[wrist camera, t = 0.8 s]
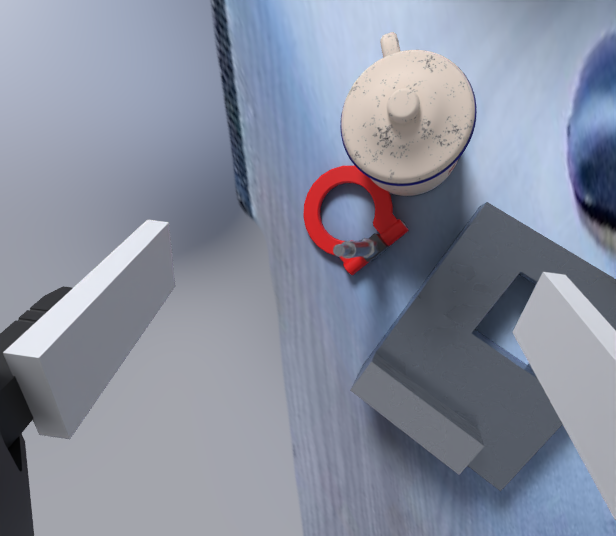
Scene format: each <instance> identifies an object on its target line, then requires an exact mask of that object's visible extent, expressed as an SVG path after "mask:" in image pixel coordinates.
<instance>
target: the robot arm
mask: <svg viewBox="0 0 616 536" xmlns="http://www.w3.org/2000/svg"><path fill="white" fill-rule="evenodd" d="M174 288H175V278H174V269H173V259H172V250H171V239H170V230H169V223H168V222H161V221H154V220H147V221H146V222H145V223H143V224H142V225H141V226H140V227H139V228H138V229H137V230H136V231H135V232H134V233H132V234H131V235H130V236H129V237H128V238H127V239H126V240H125V241H124V242H123V243H122V244H121V245H119V246H118V247H117V248H116V249H115V250H114V251H113V252H112V253H111V254H110V255H109V256H108V257H106V258H105V259H104V260H103V261H102V262H101V263H100V264H99V265H98V266H97V267H95V268H94V269H93V270H92V271H91V272H90V273H89V274H88V275H87V276H86V277H85V278H84V279H82V280H81V281H80V283H78V284H77V285H76V286H75V287H74V288H70V287H61V288H59V289H57V290H55V291H53V292H51V293H49V294H47V295H45V296H44V297H42V298H41V299H40V300H39V301H38V302H37V303H35V304H34V305H33V306H32V307H31V308H30V311H29V310H27V311H26V312H25V313H24V314H23V315H21V316H20V317H19V320H18V321H14V322H13V323H12V324H11V325H10V326H9V327H8V328H6V329H5V330H4V331H3V332H2V333H0V536H34V531H33V519H32V509H31V499H30V489H29V478H28V468H27V459H26V448H25V441H24V438H23V436H22V434H21V433H22V432H23V431H24V429H25V428H26V427H27V426H28V425H29V423H30V422H31V421H32V420H33V422H34V424H35V426H36V428H37V431H38V433H39V435H44V436H51V437H59V438H65V439H70V438H71V437H72V435H73V434H74V433H75V431H76V430H77V428H78V427H79V425H80V424H81V422H82V421H83V419H84V418H85V417H86V415H87V414H88V412H89V411H90V409H91V408H92V406H93V405H94V404H95V402H96V401H97V399H98V398H99V396H100V395H101V393H102V392H103V391H104V389H105V388H106V386H107V385H108V383H109V382H110V380H111V379H112V378H113V376H114V374H115V373H116V372H117V370H118V369H119V367H120V366H121V364H122V363H123V362H124V360H125V359H126V357H127V356H128V354H129V353H130V351H131V350H132V349H133V347H134V346H135V344H136V343H137V341H138V340H139V338H140V337H141V335H142V334H143V333H144V331H145V329H146V328H147V327H148V325H149V324H150V322H151V321H152V319H153V318H154V317H155V315H156V314H157V312H158V311H159V309H160V308H161V306H162V305H163V304H164V302H165V301H166V299H167V298H168V296H169V295H170V293H171V292H172V290H173V289H174ZM513 334H514V336H515V338H516V340H517V342H518V343H519V345H520V347H521V349H522V351H523V353H524V354H525V356H526V358H527V360H528V362H529V364H530V365H531V367H532V369H533V371H534V373H535V374H536V376H537V378H538V380H539V382H540V384H541V385H542V387H543V389H544V391H545V393H546V395H547V396H548V398H549V400H550V402H551V404H552V406H553V407H554V409H555V411H556V413H557V415H558V416H559V418H560V420H561V422H562V424H563V426H564V427H565V429H566V431H567V433H568V435H569V437H570V438H571V440H572V442H573V444H574V446H575V448H576V449H577V451H578V453H579V455H580V457H581V459H582V460H583V462H584V464H585V466H586V468H587V469H588V471H589V473H590V475H591V477H592V479H593V480H594V482H595V484H596V486H597V488H598V490H599V491H600V493H601V495H602V497H603V499H604V501H605V502H606V504H607V506H608V508H609V510H610V511H611V513H612V515H613V517H614V519H615V520H616V330H615V329H614V328H613V327H612V326H611V325H610V324H609V323H608V322H607V320H606V319H605V318H604V317H603V316H602V315H601V314H600V313H599V312H598V310H597V309H596V308H595V307H594V306H593V305H592V304H591V303H590V302H589V300H588V299H587V298H586V297H585V296H584V295H583V294H582V293H581V292H580V290H579V289H578V288H577V287H576V286H575V285H574V284H573V283H572V282H571V280H570V279H569V278H568V277H567V276H566V275H564V274H556V273H549V272H543V273H542V275H541V277H540V278H539V280H538V282H537V284H536V286H535V288H534V290H533V292H532V294H531V296H530V298H529V300H528V302H527V304H526V306H525V308H524V310H523V312H522V314H521V316H520V318H519V320H518V322H517V324H516V326H515V328H514V330H513Z"/></svg>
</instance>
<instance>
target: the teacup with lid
mask: <svg viewBox="0 0 616 536" xmlns="http://www.w3.org/2000/svg"><path fill="white" fill-rule="evenodd" d="M380 43H381V48H382V53H383V58H382V59H380V60H378V61H377V62H375V63H374V64H372V65H371V66H370V67H369V68H367V69H366V70H365V71H364V72H363V73H362V74H361V75H360V76H359V78H358V79H357V80H356V81H355V83H354V84H353V86H352V88H351V89H350V91H349V93H348V95H347V98H346V100H345V103H344V106H343V110H342V115H341V136H342V141H343V145H344V148H345V150H346V152H347V155H348V156H349V158H350V160H351V161H352V162H353V164H354V165H355V166H356V167H357V168H358V169H359V170H360V171H361V172H362V173H363V174H365V175H366V176H367V177H369V178H370V179H371V180H372V181H373V182H374V183H375V184H376V185H378V186H379V187H381V188H382V189H384V190H386V191H388V192H389V193H391V194H395V195H399V196H414V195H419V194H423V193H426V192H428V191H430V190H432V189H434V188H436V187H437V186H438V185H440V184H441V183H442V182H443V181H444V180H446V178H447V177H448V176H449V175H450V174H451V172H452V171H453V169H454V168H455V166H456V164H457V161H458V159H459V158H460V156H461V155H462V154H463V152H464V151H465V149H466V147H467V146H468V144H469V142H470V139H471V137H472V134H473V131H474V127H475V122H476V100H475V95H474V92H473V89H472V86H471V84H470V82H469V80H468V79H467V77H466V76H465V74H464V73H463V72H462V71H461V69H460V68H459V67H457V66H456V65H455V64H454V63H453V62H451V61H450V60H449V59H447V58H445V57H444V56H441V55H439V54H436V53H433V52H429V51H424V50H407V51H401V52H400V47H399V42H398V38H397V35H396V34H395V33H394V32H391V33H388V34H385V35H383V36H382V38H381V41H380Z"/></svg>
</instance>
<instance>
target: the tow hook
mask: <svg viewBox="0 0 616 536" xmlns="http://www.w3.org/2000/svg"><path fill="white" fill-rule="evenodd" d="M344 183H355V184H358V185H361V186H362V187H364V188H365V189H366V190H367V191H368V192H369V193H370V194H371V196H372V198H373V200H374V204H375V218H374V221H373V226H374V227H375V228H376V230H377V231H378V232H379V233H380V234H373V235H372V236H371V237H370V238H363V239H362V240H361V241H341V240H338V239H335V238H334V237H332V236H331V235H329V233H328V232H327V231H326V230H325V228H324V226H323V224H322V222H321V217H320V209H321V205H322V202H323V199H324V198H325V196H326V194H327V193H328V192H329V191H330V190H331V189H333V188H334V187H336V186H338V185H340V184H344ZM304 221H305V226H306V229H307V231H308V233H309V235H310V238H311V239H312V240H313V241H314V242H315V244H316V245H317V246H318V247H320V248H321V249H322V250H324V251H325V252H327V253H329V254H332V255H335V256H338V257H340V258H341V260H342V261H343V262H344V264H343V265H344V267H345V269H346V270H347V271H348V273H350V274H351V275H354V274H355V273H356V272H357V271H359V270H360V269H361V268H362V267H364V266H365V265H366V264H368V263H369V262H370V261H373V260H374V259H376V258H377V257H378V256H379V255H381V254H382V253H383V252H384V251H386V250H387V249H388V248H389V246H390V245H392V244H393V243H394V242H395V241H397V240H398V239H399V238H400V237H402V236H403V235H404V234H405V233H407V232H408V231H409V229H408V227H407V226H406V225H405V224H404V222H403V221H402V220H400V219H398V220H397V218H396V217H395V216H394V215H393V205H392V200H391V195H390V193H389V192H388V191H386V190H384V189H382V188H381V187H379V186H378V185H376V184H375V183H374V182H373V181H372V180H371V179H370V178H369V177H367V176H366V175H365V174H363V173H362V172H361V171H360V170H359V169H358V168H357V167H356V166H341V167H337V168H334V169H331V170H329V171H328V172H326V173H324V174H323V175H321V176H320V177H319V178H318V179H317V180H316V181H315V182H314V183H313V185H312V187H311V189H310V190H309V192H308V194H307V197H306V200H305V204H304Z"/></svg>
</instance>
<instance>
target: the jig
mask: <svg viewBox="0 0 616 536" xmlns="http://www.w3.org/2000/svg"><path fill="white" fill-rule="evenodd" d="M543 272H549V273H556V274H564V275H566V276H567V277H568V278H569V279H570V280H571V282H572V283H573V284H574V285H575V286H576V287H577V288H578V289H579V290H580V292H581V293H582V294H583V295H584V296H585V297H586V298H587V299H588V300H589V302H590V303H591V304H592V305H593V306H594V307H595V308H596V309H597V310H598V312H599V313H600V314H601V315H602V316H603V317H604V318H605V319H606V320H607V322H608V323H609V324H610V325H611V326H612V327H613V328H614V329H615V330H616V279H614V278H613V277H611V276H609V275H608V274H606V273H604V272H603V271H601V270H599V269H598V268H596V267H594V266H593V265H591V264H589V263H588V262H586V261H584V260H583V259H581V258H579V257H578V256H576V255H574V254H573V253H571V252H569V251H568V250H566V249H564V248H563V247H561V246H559V245H558V244H556V243H554V242H553V241H551V240H549V239H548V238H546V237H544V236H543V235H541V234H539V233H538V232H536V231H534V230H533V229H531V228H529V227H528V226H526V225H524V224H523V223H521V222H519V221H518V220H516V219H514V218H513V217H511V216H509V215H508V214H506V213H504V212H503V211H501V210H499V209H498V208H496V207H494V206H493V205H491V204H489V203H488V202H486V203H485V204H483V205H482V206H480V207H479V208H478V210H477V211H476V212H475V214H474V215H473V217H472V218H471V219H470V221H469V222H468V223H467V225H466V226H465V227H464V229H463V230H462V231H461V233H460V234H459V236H458V237H457V238H456V240H455V241H454V242H453V244H452V245H451V246H450V248H449V249H448V250H447V252H446V253H445V255H444V256H443V257H442V259H441V260H440V261H439V263H438V264H437V265H436V267H435V268H434V269H433V271H432V272H431V274H430V275H429V276H428V278H427V279H426V280H425V282H424V283H423V284H422V286H421V287H420V288H419V290H418V291H417V293H416V294H415V295H414V297H413V298H412V299H411V301H410V302H409V303H408V305H407V306H406V307H405V309H404V310H403V311H402V313H401V314H400V316H399V317H398V318H397V320H396V321H395V322H394V324H393V325H392V326H391V328H390V329H389V330H388V332H387V333H386V335H385V336H384V337H383V339H382V340H381V341H380V343H379V344H378V345H377V347H376V348H375V349H374V351H373V352H372V354H371V355H370V356H369V358H368V359H367V360H366V362H365V363H364V364H363V366H362V368H361V370H360V372H359V374H358V376H357V378H356V380H355V382H354V384H353V386H352V388H351V390H350V391H352V392H353V393H354V394H356V395H357V396H358V397H359V398H361V399H362V400H363V401H365V402H366V403H367V404H368V405H370V406H371V407H372V408H374V409H375V410H376V411H377V412H379V413H380V414H381V415H383V416H384V417H385V418H386V419H388V420H389V421H390V422H392V423H393V424H394V425H395V426H397V427H398V428H399V429H401V430H402V431H403V432H404V433H406V434H407V435H408V436H410V437H411V438H412V439H413V440H415V441H416V442H417V443H419V444H420V445H421V446H422V447H424V448H425V449H426V450H428V451H429V452H430V453H431V454H433V455H434V456H435V457H437V458H438V459H439V460H440V461H442V462H443V463H444V464H446V465H447V466H448V467H449V468H451V469H452V470H453V471H455V472H456V473H457V474H458V475H460V473H461V472H462V471H463V470H464V469H465V468H466V467H467V466H469V467H470V468H471V469H472V470H474V471H475V472H476V473H478V474H479V475H480V476H482V477H483V478H484V479H485V480H487V481H488V482H489V483H491V484H492V485H493V486H495V487H496V488H497V489H498V490H500V491H501V490H502V489H503V488H504V487H505V486H506V485H507V484H508V483H509V482H510V481H511V479H512V478H513V477H514V476H515V475H516V474H517V473H518V472H519V471H520V470H521V469H522V468H523V466H524V465H525V464H526V463H527V462H528V461H529V460H530V459H531V458H532V457H533V456H534V455H535V453H536V452H537V451H538V450H539V449H540V448H541V447H542V446H543V445H544V444H545V443H546V442H547V441H548V439H549V438H550V437H551V436H552V435H553V434H554V433H555V432H556V431H557V430H558V429H559V428H560V426H561V425H562V422H561V420H560V418H559V416H558V415H557V413H556V411H555V409H554V407H553V406H552V404H551V402H550V400H549V398H548V396H547V395H546V393H545V391H544V389H543V387H542V385H541V384H540V382H539V380H538V378H537V376H536V374H535V373H534V371H533V369H532V367H531V365H530V364H528V365H526V364H525V363H523V362H522V361H520V360H519V359H518V358H516V357H515V356H513V355H512V354H510V353H509V352H507V351H506V350H504V349H503V348H501V347H500V346H498V345H497V344H496V343H494V342H493V341H491V340H490V339H488V338H487V337H485V336H484V335H482V334H481V333H479V332H478V331H476V330H475V328H476V327H477V326H478V324H479V323H480V322H481V321H482V319H483V318H484V317H485V316H486V314H487V313H488V312H489V311H490V309H491V308H492V307H493V306H494V304H495V303H496V302H497V301H498V299H499V298H500V297H501V296H502V294H503V293H504V292H505V291H506V289H507V288H508V287H509V286H510V284H511V283H512V282H513V281H514V279H515V278H516V277H517V276H518V274H520V275H521V276H523V277H524V278H526V279H528V280H529V281H531V282H532V283H534V284H535V285H536V284H537V282H538V280H539V278H540V277H541V275H542V273H543Z"/></svg>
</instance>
